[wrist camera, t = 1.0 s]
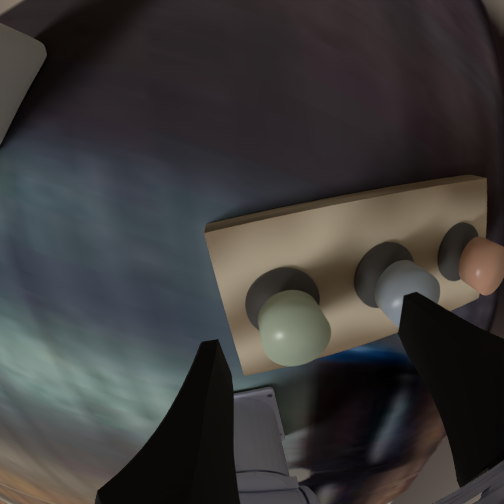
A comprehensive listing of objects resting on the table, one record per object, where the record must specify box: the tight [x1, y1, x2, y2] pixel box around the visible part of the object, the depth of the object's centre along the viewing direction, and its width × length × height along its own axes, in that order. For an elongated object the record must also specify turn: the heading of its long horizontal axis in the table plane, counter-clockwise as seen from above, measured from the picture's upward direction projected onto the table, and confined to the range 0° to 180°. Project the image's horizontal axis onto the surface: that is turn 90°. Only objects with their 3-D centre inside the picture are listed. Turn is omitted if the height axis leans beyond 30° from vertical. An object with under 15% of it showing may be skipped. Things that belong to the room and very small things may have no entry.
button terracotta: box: [459, 237, 504, 295], centre depth 18 cm, size 4×4×2 cm
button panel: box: [204, 174, 487, 376], centre depth 22 cm, size 12×24×3 cm, turn 101°
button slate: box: [374, 260, 440, 328], centre depth 18 cm, size 4×4×2 cm
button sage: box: [258, 290, 331, 366], centre depth 17 cm, size 4×4×2 cm
